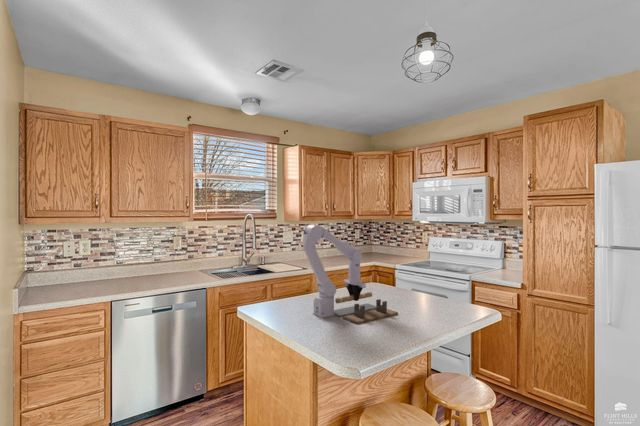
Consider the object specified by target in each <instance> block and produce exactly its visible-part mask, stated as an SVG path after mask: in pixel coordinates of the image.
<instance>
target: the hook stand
mask: <svg viewBox="0 0 640 426" xmlns="http://www.w3.org/2000/svg"><path fill="white" fill-rule="evenodd" d="M375 303H376V304H375V306H376V309H374V310H370V311H365V306H364V305H363V306H360V309H359V305H360V304H359V303H354V305H353V306H354V314H351V315H347V316H342V319H343V320H345V321H348V322H350V323H352V324H354V325H360V324H365V323H368V322H373V321H378V320H381V319H385V318H389V317H393V316H398V315H399V313H398V312H397V311H395V310H392V309H388V301H387V300H384V301H382V300H381V299H380V298H379V299H376V302H375ZM381 303H382V304H381Z"/></svg>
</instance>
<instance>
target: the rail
mask: <svg viewBox="0 0 640 426" xmlns="http://www.w3.org/2000/svg"><path fill="white" fill-rule="evenodd" d="M372 297H373V293H372V292H371V291H368V292H364V293H362V292H361V293H360V296H359V300H362V299H367V298H372ZM353 301H354V295H351V296H350V295H346V296H340V297H336V298H334V303H336V304H341V303H346V302H353Z"/></svg>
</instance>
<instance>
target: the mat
mask: <svg viewBox="0 0 640 426" xmlns="http://www.w3.org/2000/svg"><path fill="white" fill-rule="evenodd" d="M363 305H364V306H365V311H370V310H374V309H376V305H373V304H371V303H362V304H359V309H360V306H363ZM334 314H335V315H334V316H336V317H338V318H343V316H347V315H351V314H354V305H352V306H347V307H342V308H337V309H334Z"/></svg>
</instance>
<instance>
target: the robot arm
mask: <svg viewBox="0 0 640 426" xmlns="http://www.w3.org/2000/svg"><path fill="white" fill-rule="evenodd" d="M302 235H303V238H302V239H303V240H302V248H303V250H304V252H305V255H306V258H307V259H308V262H309V265H310V267H311V269H312V271H313V273H314V276H315V278H316V281H315V282H316V289H317V291H318V293H319V294H318V296H317V297H315V298H314V300H313V312H312V315H315V316H316V317H319V318H321V319H323V318H328V317H333V316H335V314H334V310H335V295H336V293H337V287H336V285H335V284H334V283H332V281H331V278H329V277H328V275H327V272H326V270H325V267H324V265H323V263H322V261H321V258H320V255H319V254H318V251H317V249H316V245H317V242H319V240H320V239H325V240H327V241H328V242H329V243H331V244H333V245H335V246H336V249H337V251H339V252H340V253H341V254H342V255H344V256H345V257H346V258H347V259H348V278H345V279H343V284H347V285H346V286H345V288H346V289H347V291H348V296H351V295H354V300H353V301H354V302H358V301H360V299H359V296H360V294H362V290H363V289H366V288H367V287H366V285H367V284H366V283H364V282H362V280H361V261H362V259H363V257H364V256H363V254H362V252H361V250H360V249H357V248H356V247H355V246H354V245H351V244H350V243H349V241H348V240H345V239H344V240H343V239H342V240H340V239H339V238H337V236H334V234H332V232H330V231H329V230H327V229H326V228H325V227H322V226H321V225H319V224H317V225H314V224H307V225H306V226H305V227H304V229H303V232H302Z"/></svg>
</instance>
